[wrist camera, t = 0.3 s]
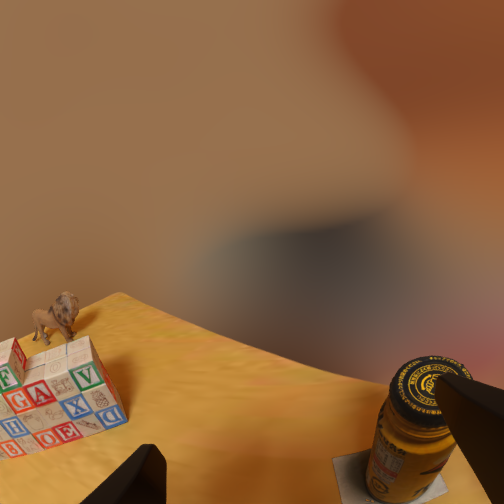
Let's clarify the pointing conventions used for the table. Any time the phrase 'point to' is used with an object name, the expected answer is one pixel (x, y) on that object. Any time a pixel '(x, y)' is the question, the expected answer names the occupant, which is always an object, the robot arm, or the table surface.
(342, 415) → the table surface
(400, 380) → the condiment
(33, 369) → the stack of blocks
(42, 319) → the lion figurine
